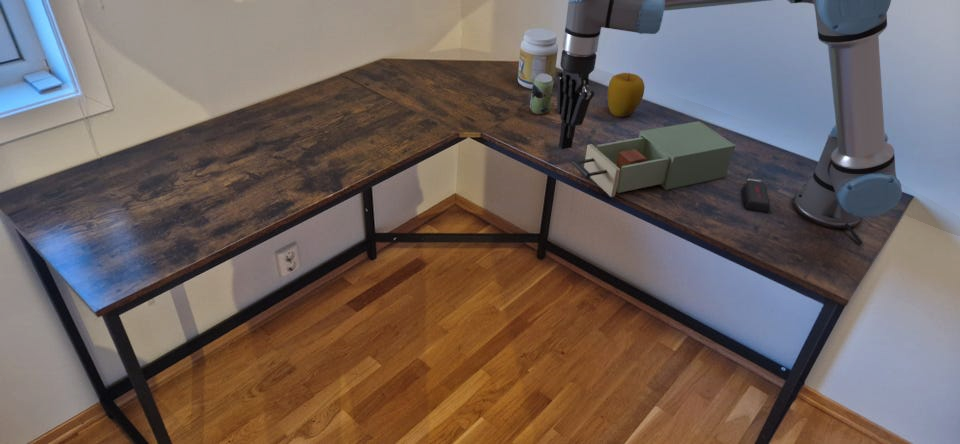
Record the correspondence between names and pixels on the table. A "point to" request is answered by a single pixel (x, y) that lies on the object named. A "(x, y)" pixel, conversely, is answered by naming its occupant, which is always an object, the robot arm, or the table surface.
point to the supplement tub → (537, 55)
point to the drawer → (632, 176)
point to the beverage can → (541, 93)
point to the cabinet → (691, 153)
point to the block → (629, 158)
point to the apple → (624, 94)
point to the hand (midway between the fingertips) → (565, 146)
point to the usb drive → (756, 195)
